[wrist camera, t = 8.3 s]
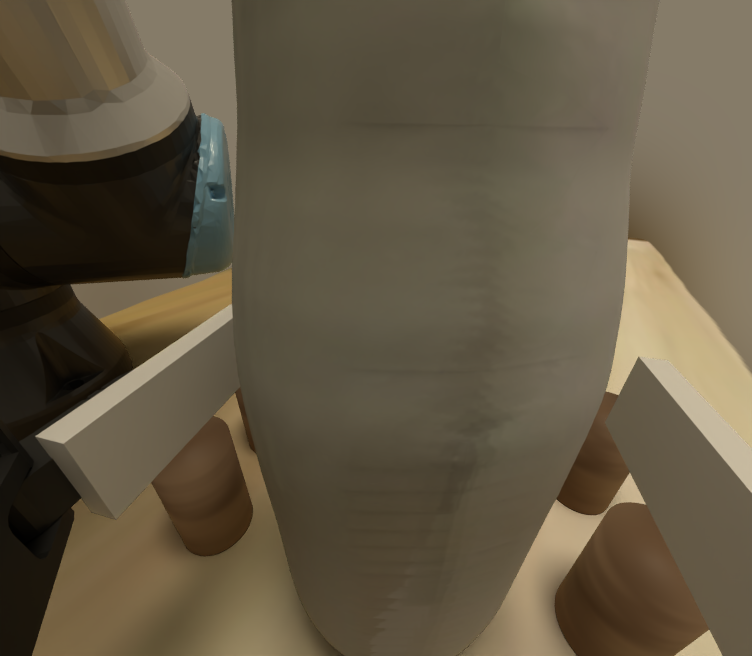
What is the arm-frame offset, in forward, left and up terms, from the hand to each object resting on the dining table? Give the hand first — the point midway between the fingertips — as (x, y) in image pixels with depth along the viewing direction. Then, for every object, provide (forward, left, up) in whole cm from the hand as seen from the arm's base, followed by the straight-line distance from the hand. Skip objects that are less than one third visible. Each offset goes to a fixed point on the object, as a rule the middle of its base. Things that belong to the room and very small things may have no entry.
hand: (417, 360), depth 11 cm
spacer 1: (-7, -9, -14) cm, 18 cm away
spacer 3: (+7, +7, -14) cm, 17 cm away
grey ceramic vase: (0, -1, -14) cm, 14 cm away
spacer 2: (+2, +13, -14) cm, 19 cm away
